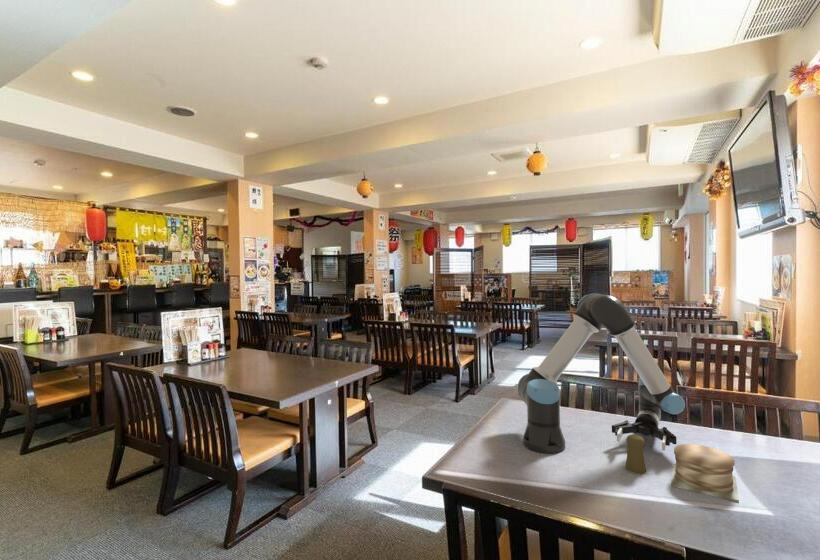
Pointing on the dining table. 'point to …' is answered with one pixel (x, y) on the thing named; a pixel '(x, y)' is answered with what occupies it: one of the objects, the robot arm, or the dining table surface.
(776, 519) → the dining table surface
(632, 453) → the cork
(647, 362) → the robot arm
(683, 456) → the stack of pancakes
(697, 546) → the dining table surface
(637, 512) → the dining table surface
